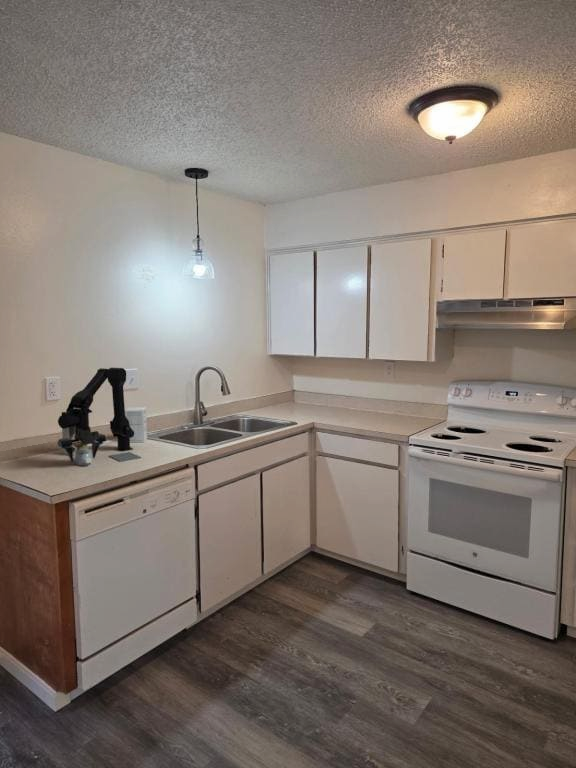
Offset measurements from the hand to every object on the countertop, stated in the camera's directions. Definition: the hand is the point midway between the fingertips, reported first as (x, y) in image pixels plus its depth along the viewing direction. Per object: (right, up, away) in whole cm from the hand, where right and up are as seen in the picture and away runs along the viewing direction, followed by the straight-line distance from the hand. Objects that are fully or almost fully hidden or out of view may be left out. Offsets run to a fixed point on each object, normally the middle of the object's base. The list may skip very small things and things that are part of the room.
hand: (83, 459), depth 217 cm
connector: (+1, -2, -1) cm, 2 cm away
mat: (+15, 0, +11) cm, 18 cm away
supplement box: (+10, +3, +43) cm, 45 cm away
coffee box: (-11, 0, +17) cm, 20 cm away
